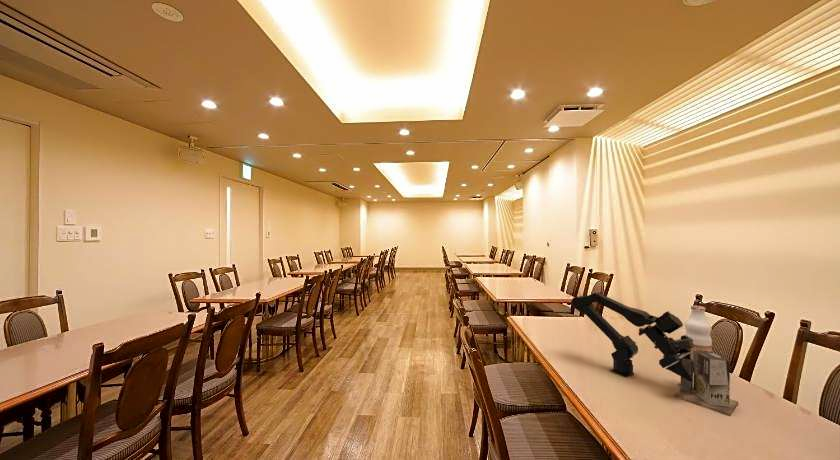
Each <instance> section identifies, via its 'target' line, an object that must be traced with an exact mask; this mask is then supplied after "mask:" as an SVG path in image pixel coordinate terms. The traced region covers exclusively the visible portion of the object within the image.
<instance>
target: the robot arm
mask: <svg viewBox="0 0 840 460" xmlns="http://www.w3.org/2000/svg"><path fill="white" fill-rule="evenodd" d="M593 303H597V304H599V305H601V306H603V307H605V308H607V309H609V310H611V311H613V312H615V313H616V314H618V315H620V316H622V317H624V318H625V319H626V320H627V321H628V322H629V323H631V324H632V325H633V326H635V327H639V328H638V336H639V337H641V336H642V335H645V337H647V338H648V339H649V340H650V342H651V343H653V347H654V348H655V350H657V349H658V350H659V351H660V353H662V354H663V355H662V358H661V359H660V360H659V361H658V364H659V365H660V367H661V368H662V369H665V370H668V371H670V372H672V373H674V374H675V375H677V376H679V377H680V378H681V377H683V378H684V379H686V380H688V381H690V382H691V381H693V382H694V379H693V380H692V378H691V377H690V375H689V374H688V373H687V371H686V370H685V369H684V367H683V366H682V360H681V359H683V358H685V359H689V360H692V358H691V357H692V352H691V351H692V350H691V349H692V348H693V347H695V346H694V344H693V340H692V339H691V338H689V337H688V336H687V335H681V336H680V338H679V339H674V338H673V337H668V335H667V334H669V335H670V334H672V333H674V332H675V331H677V330H679V329H680V328H683V326H684V324H683V322H682V321H681V319H680V318H679V317H677V316H676V315H675V314H674V313H673V314H672V313H671V312H670V311H669V310H667V311H665V312H664V313H663V314H662V315H660V316H659V317H658V316H655V315H652V314H650V313H649V312H647V311H646V310H642V309H639V308H636V307H635V308H634V307H630V306H627V305H625V304H623V303H621V302H619V301H617V300H615V299H613V298H612V297H609V296H607V295H605V294H603V293H601V292H599V291H598V292H597V291H596V292H593V293H591V294H588V295H577V296H574V297H572V298H571V306H572V307H573V308H574V309H576V311H577V312H579V313H581V314H583V315H585V316H586V317H587V318H588V319H589V320H590V321H592V323H593V324H595V326H596V327H597V328H598V329H599V330H600V331H601V332H602V333H603V334H604V335H605V336H606V337H607V338H608V339H609V340H610V341H611V343H612V345H613V348H614V349H615V351H613V352H612V353H611V354H610V355H611V357H612V360H613V365H612V366H613V367H612V368H611V369H610V371H611V372H613V373H616V374H618V375H620V376H622V377H625V378H626V377H628V376H634V375H635V372H634V364H633V358H634V356H636V355H637V354H639V347H638V345H637V342H635V341H634V340H633V339H632V338H631V336H630V335H625V336H624V335H622V334H621V333H619V332H618V331H617V329H616V328H614V326H613V325H611V324H610V322H608V321H607V320H606V319H605V318H604V317H603V316H602V314H600V313H599V312H598V310H597V309H595V306H594V305H593ZM653 324H654V325H653ZM652 325H653V326H652ZM688 352H691V353H689V354H688ZM693 364H694V362H693ZM693 374H694V365H693Z"/></svg>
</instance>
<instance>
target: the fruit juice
mask: <svg viewBox="0 0 840 460" xmlns="http://www.w3.org/2000/svg"><path fill="white" fill-rule="evenodd" d="M690 310H691V312H690V314H689V316H688V318H687V319H686V320H685V321H684V327H685V332H684V335H687V336H688V337H689V338H691V339H692V340H693V344H694V346H695V347H693V348H692V349H691V350H692V351H691V352H692V357H691V358H692V360H693V362H694V351H710V352H713V351H712V350H713V345H712V344H713V339H712V337H711V333H712V331H713V330H712V328H713V327H712V325H711V323H710V322H709V321H708V318H707V315H706V313H705V312H706V307H705V306H702V305H691V306H690ZM691 352H688V354H689V353H691Z"/></svg>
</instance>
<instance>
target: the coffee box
mask: <svg viewBox="0 0 840 460" xmlns="http://www.w3.org/2000/svg"><path fill="white" fill-rule="evenodd" d="M693 365H694V373H693V388H694V389H693V393H694V394H696V395H697V396H698V397H700V398H701V399H702V400H704V401H705V402H706V403H708V404H709V405H715V406H724V407H729V399H730V393H731V392H730V388H731V387H730V382H731V380H730V379H731V377H730V376H731V360H729V358H728V359H727V358H725V357H724V356H722V355H720V354H717V353H716V352H714V351H712V352H710V351H694V364H693Z"/></svg>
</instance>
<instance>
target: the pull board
mask: <svg viewBox="0 0 840 460" xmlns="http://www.w3.org/2000/svg"><path fill="white" fill-rule="evenodd" d="M681 360H682V366H683V367H684V369H685V370H686V371H687V373H688V374H689V375H690V377H691V378H692V380H693V381H691V382H690V381H688V380H686V379H684V378H683V377H681V376H680V384H679V385H680V388H679V390H678V391H677V392H676V393H675V394H674V398H676V399H679V400H682V401H684V402H688V403H691V404H694V405H696V406H700V407H703V408H706V409H709V410H711V411H713V412H717V413H721V414H722V415H726V416H728V417H731V415H732V414H733V412H734V411H735V410H736V408H737V407H738V405H739V401H738V400H734V399H731V398H729V407H724V406H715V405H709V404H708V403H706V402H705V401H704V400H702V399H701V398H700V397H698V396H697V395H696V394H694V393H693V389H694V373H693V360H689V359H685V358H683V359H681Z"/></svg>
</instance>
